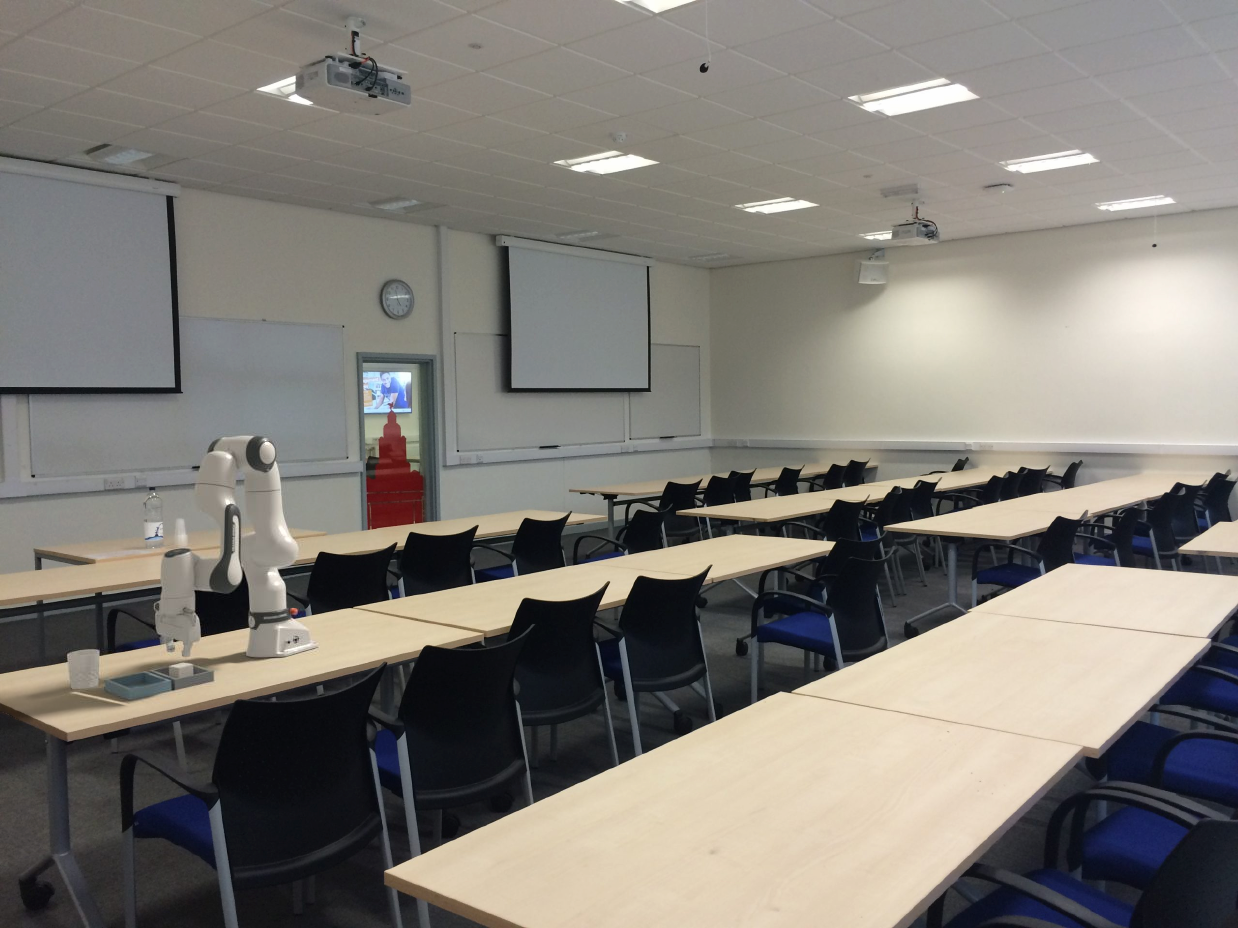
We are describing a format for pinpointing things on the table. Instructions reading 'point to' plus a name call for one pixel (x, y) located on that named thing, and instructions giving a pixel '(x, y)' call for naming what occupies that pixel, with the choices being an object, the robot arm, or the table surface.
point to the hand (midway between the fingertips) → (178, 654)
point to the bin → (137, 685)
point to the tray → (197, 678)
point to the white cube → (181, 670)
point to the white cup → (83, 668)
